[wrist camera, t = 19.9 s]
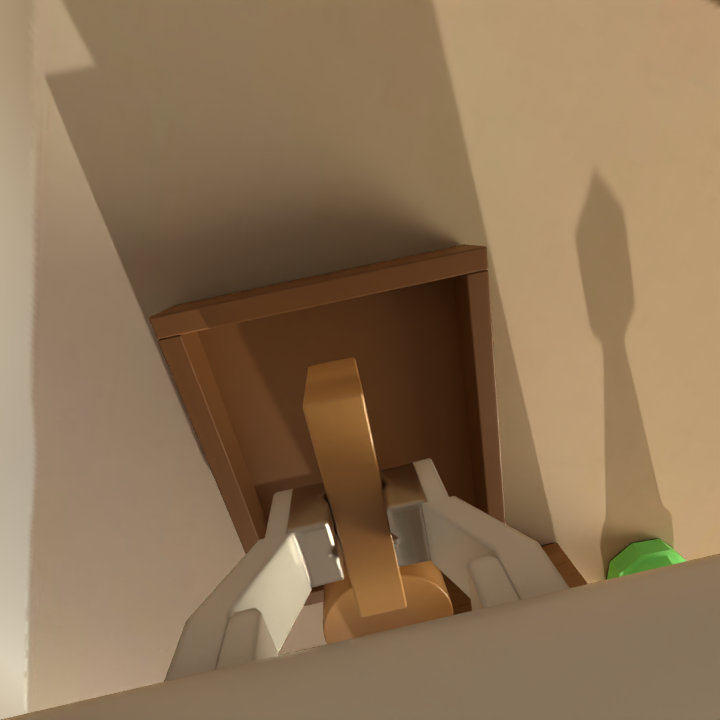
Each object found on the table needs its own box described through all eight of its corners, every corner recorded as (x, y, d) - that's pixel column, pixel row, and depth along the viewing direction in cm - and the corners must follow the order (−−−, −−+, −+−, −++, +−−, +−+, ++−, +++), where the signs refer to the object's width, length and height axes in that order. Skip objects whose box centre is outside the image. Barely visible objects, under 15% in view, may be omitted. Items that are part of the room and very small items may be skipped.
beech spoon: (256, 376, 10) (235, 420, 8) (404, 344, 10) (428, 378, 8) (337, 633, 14) (339, 715, 12) (445, 608, 14) (470, 685, 12)
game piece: (627, 533, 20) (745, 650, 14) (689, 543, 21) (823, 658, 15) (592, 588, 21) (687, 715, 16) (651, 596, 22) (762, 720, 16)
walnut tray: (173, 305, 14) (147, 317, 12) (464, 244, 14) (487, 246, 12) (275, 574, 19) (270, 614, 17) (489, 526, 19) (508, 560, 17)
